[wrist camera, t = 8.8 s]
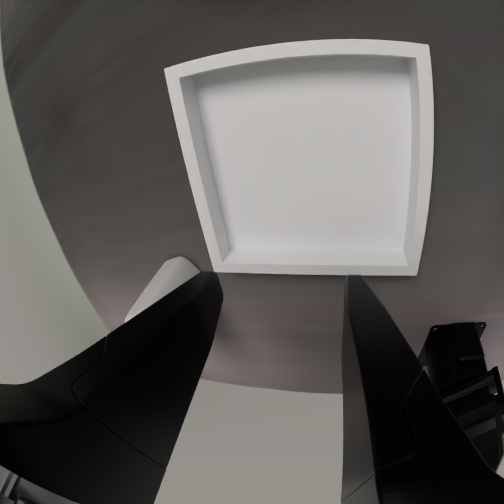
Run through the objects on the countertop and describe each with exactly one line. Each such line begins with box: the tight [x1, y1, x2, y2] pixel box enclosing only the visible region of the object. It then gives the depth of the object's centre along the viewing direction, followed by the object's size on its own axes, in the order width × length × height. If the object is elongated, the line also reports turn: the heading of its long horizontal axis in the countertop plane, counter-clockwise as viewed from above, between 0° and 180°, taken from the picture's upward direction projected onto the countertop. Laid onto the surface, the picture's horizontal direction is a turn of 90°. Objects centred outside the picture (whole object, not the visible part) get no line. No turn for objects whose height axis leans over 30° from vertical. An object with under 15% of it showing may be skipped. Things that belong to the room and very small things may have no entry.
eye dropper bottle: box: [125, 257, 201, 323], centre depth 21 cm, size 4×6×12 cm
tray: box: [164, 39, 434, 276], centre depth 16 cm, size 14×14×2 cm
